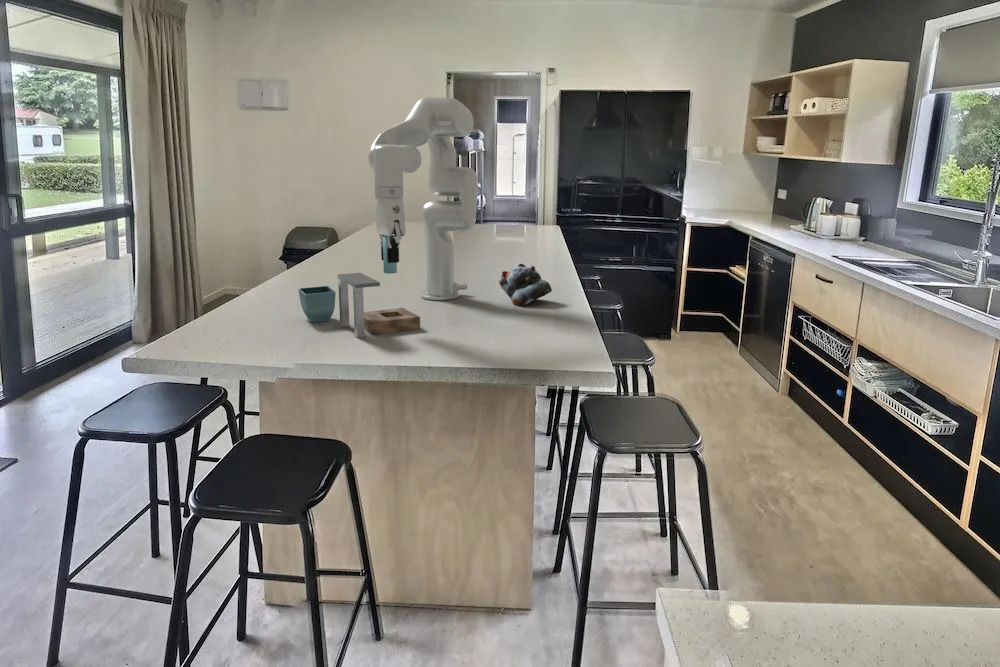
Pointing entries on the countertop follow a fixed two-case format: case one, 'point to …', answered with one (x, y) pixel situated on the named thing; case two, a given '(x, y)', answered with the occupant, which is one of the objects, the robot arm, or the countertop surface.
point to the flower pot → (317, 302)
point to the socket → (390, 321)
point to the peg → (388, 267)
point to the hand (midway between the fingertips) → (390, 260)
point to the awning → (358, 284)
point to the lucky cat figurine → (523, 285)
